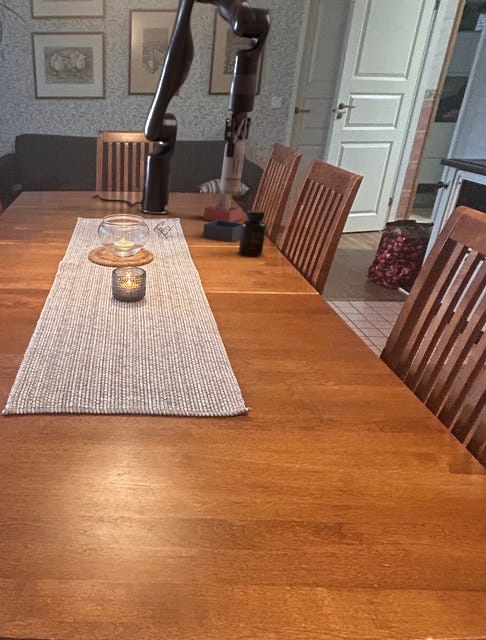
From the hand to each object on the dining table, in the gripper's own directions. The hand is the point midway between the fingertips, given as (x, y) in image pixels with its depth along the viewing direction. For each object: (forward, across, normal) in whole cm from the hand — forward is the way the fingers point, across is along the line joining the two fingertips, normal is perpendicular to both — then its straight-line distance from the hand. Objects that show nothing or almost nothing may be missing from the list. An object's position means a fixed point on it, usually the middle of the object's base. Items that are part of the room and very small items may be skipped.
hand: (233, 156), depth 182 cm
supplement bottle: (+24, +17, +16) cm, 34 cm away
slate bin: (+24, 0, 0) cm, 24 cm away
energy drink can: (+11, 0, 0) cm, 11 cm away
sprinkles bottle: (+24, -28, -13) cm, 39 cm away
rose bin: (+24, -28, -13) cm, 39 cm away
